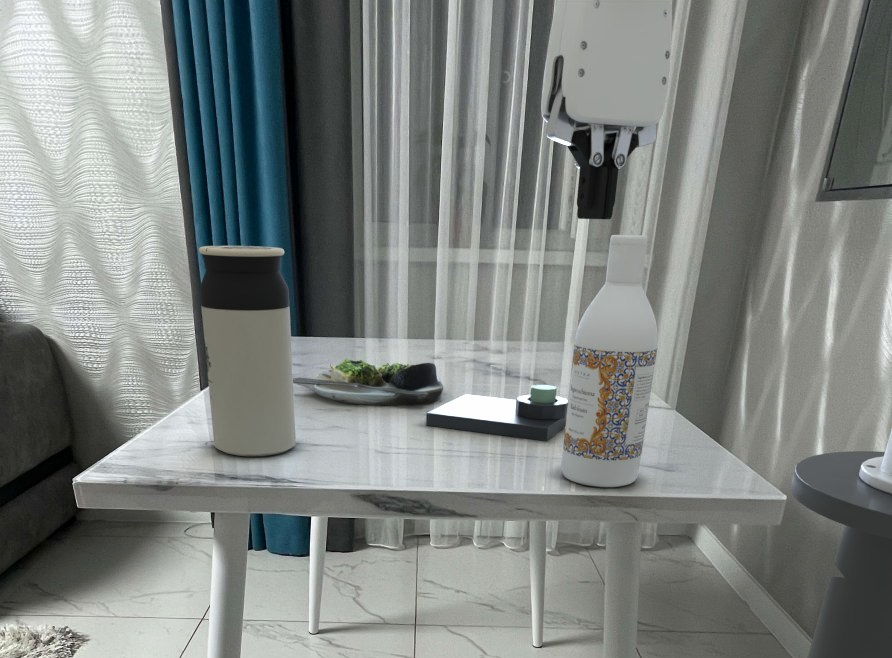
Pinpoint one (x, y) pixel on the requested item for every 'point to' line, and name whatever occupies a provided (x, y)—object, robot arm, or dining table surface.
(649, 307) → the bath foam
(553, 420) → the scale
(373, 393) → the salad plate
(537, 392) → the button
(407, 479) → the dining table surface
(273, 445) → the travel mug
